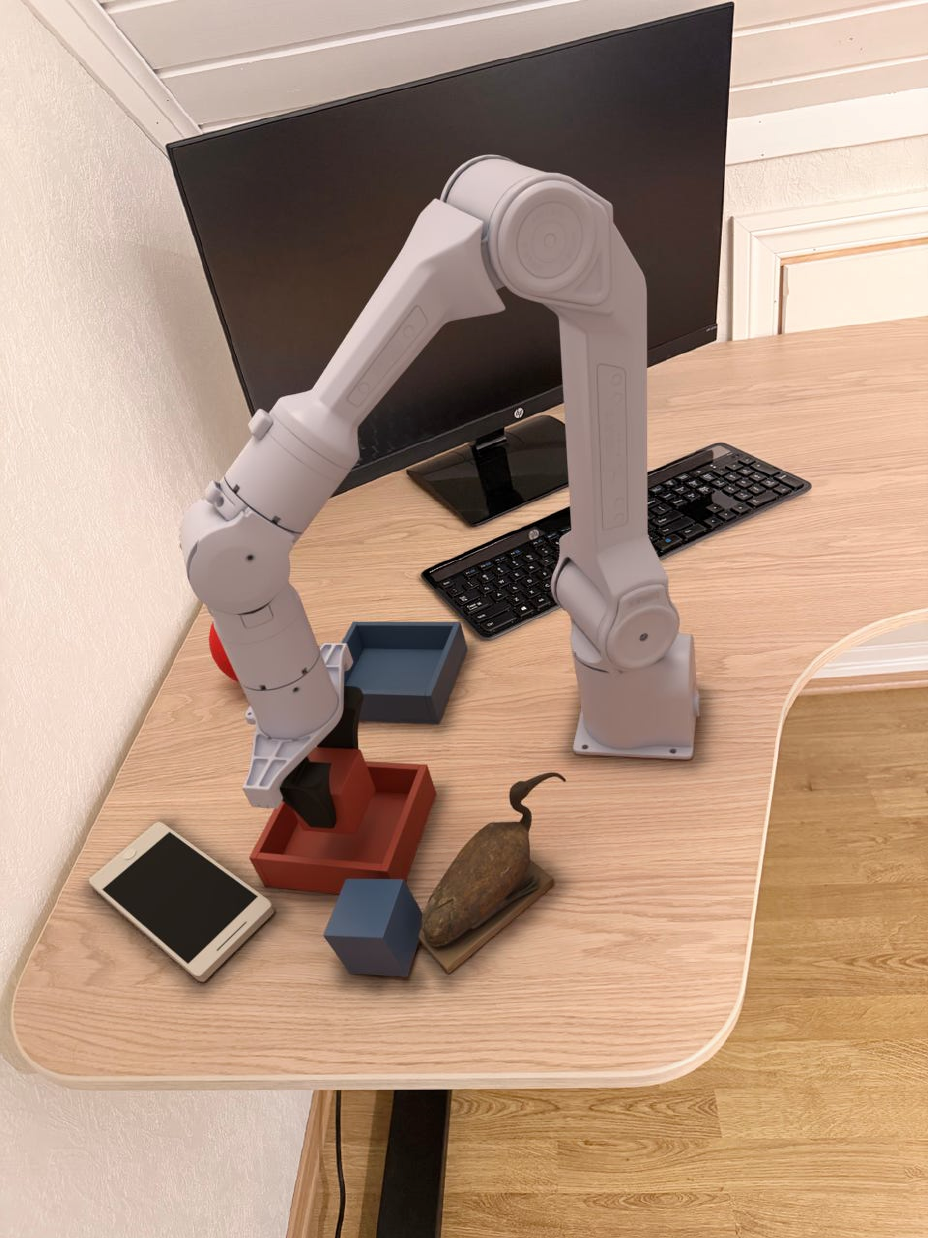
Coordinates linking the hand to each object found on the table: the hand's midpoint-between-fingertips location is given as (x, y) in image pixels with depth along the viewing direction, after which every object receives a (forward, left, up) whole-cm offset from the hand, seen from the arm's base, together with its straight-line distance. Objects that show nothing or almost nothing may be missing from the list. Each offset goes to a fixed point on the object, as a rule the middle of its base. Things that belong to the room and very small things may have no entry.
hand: (335, 797), depth 69 cm
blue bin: (+2, -18, -5) cm, 19 cm away
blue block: (-6, +9, -5) cm, 12 cm away
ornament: (+16, -19, -5) cm, 25 cm away
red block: (0, 0, -1) cm, 1 cm away
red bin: (0, 0, -5) cm, 5 cm away
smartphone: (+12, +7, -5) cm, 15 cm away
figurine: (-13, +3, -5) cm, 15 cm away
